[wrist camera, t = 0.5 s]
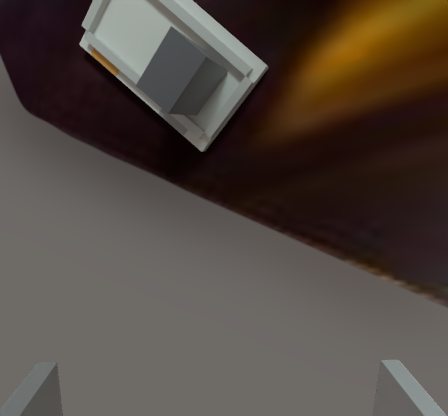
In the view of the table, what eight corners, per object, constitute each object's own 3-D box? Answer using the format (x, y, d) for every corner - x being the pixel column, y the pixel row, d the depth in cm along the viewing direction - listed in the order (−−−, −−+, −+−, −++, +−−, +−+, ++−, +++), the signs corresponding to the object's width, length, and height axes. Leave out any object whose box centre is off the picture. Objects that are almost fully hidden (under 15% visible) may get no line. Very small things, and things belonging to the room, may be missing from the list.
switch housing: (268, 67, 34) (266, 64, 31) (205, 150, 38) (199, 152, 36) (135, -49, 34) (122, -61, 32) (87, 47, 38) (73, 42, 36)
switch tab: (228, 71, 33) (206, 56, 26) (196, 115, 35) (167, 113, 28) (201, 47, 33) (171, 25, 26) (171, 93, 35) (135, 85, 28)
